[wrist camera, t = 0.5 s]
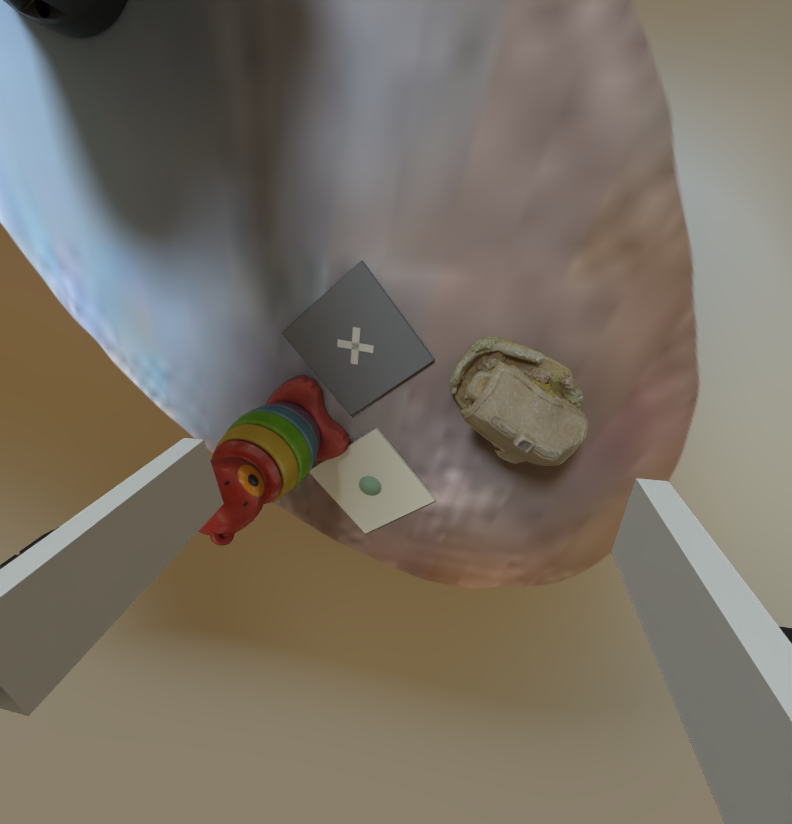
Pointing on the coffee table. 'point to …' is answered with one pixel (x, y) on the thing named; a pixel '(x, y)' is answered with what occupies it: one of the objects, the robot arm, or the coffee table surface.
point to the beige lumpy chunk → (520, 402)
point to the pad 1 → (357, 340)
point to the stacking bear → (271, 454)
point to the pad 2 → (372, 482)
